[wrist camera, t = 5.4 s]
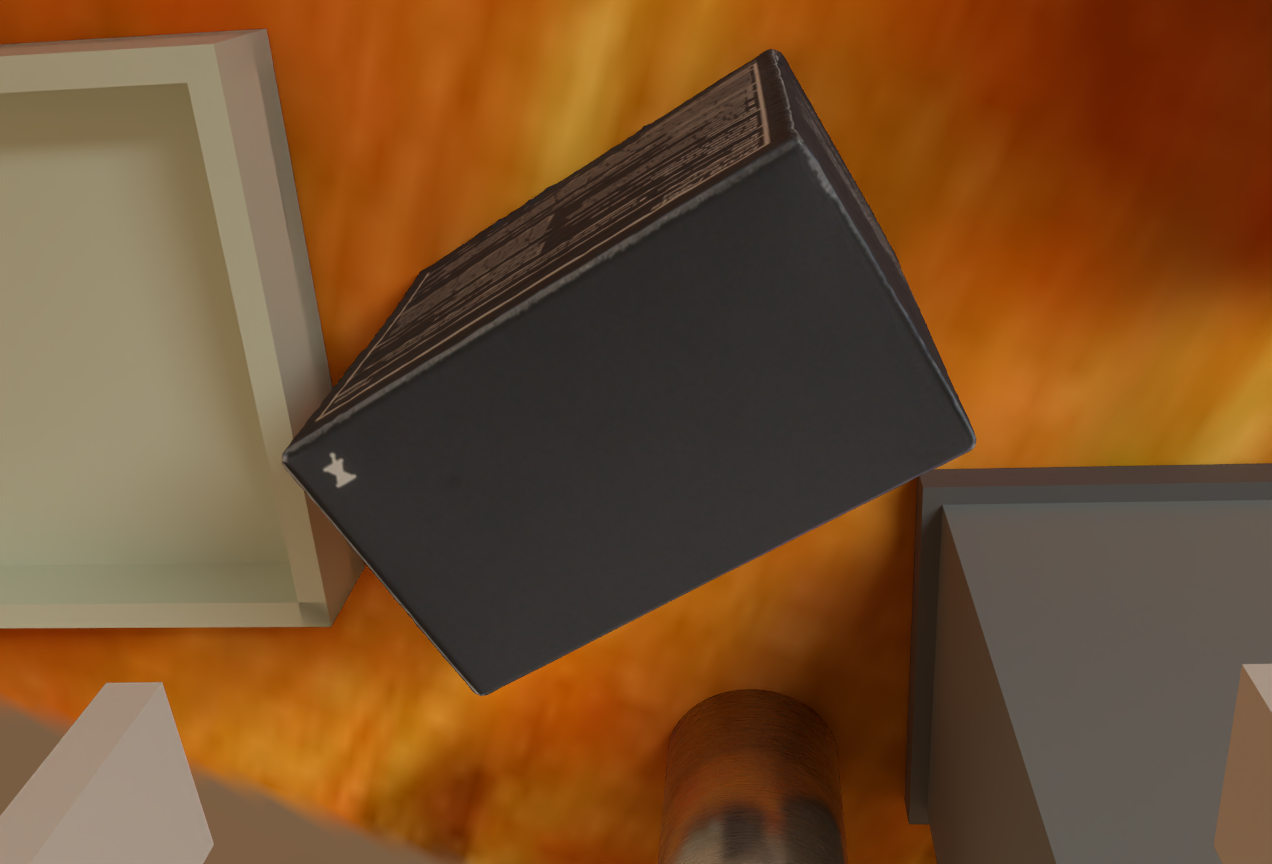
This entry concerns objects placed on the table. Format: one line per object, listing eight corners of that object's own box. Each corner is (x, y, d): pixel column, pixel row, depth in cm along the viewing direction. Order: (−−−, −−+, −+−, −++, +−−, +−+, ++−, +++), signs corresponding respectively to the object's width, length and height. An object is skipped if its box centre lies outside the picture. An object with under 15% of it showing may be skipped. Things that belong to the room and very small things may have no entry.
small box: (556, 472, 32) (475, 722, 22) (410, 273, 30) (251, 454, 20) (913, 273, 29) (995, 465, 19) (776, 36, 27) (792, 117, 17)
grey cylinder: (663, 689, 34) (641, 903, 27) (838, 689, 34) (862, 908, 26) (672, 822, 36) (653, 1053, 29) (836, 824, 36) (859, 1061, 29)
